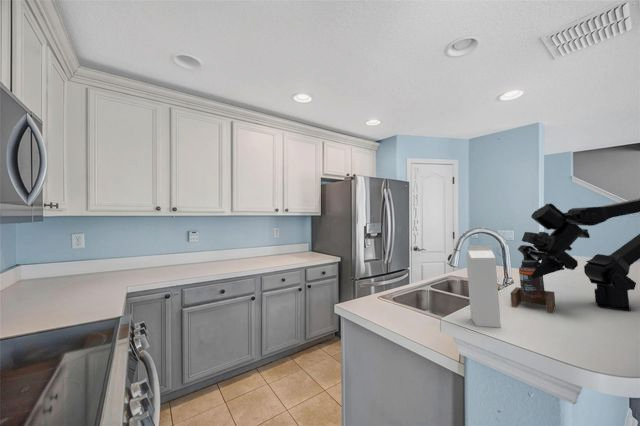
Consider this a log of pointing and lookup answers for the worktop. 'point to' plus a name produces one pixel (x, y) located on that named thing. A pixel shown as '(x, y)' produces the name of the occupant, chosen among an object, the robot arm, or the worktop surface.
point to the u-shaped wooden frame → (533, 299)
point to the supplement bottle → (530, 280)
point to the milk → (483, 286)
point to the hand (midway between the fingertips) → (526, 275)
